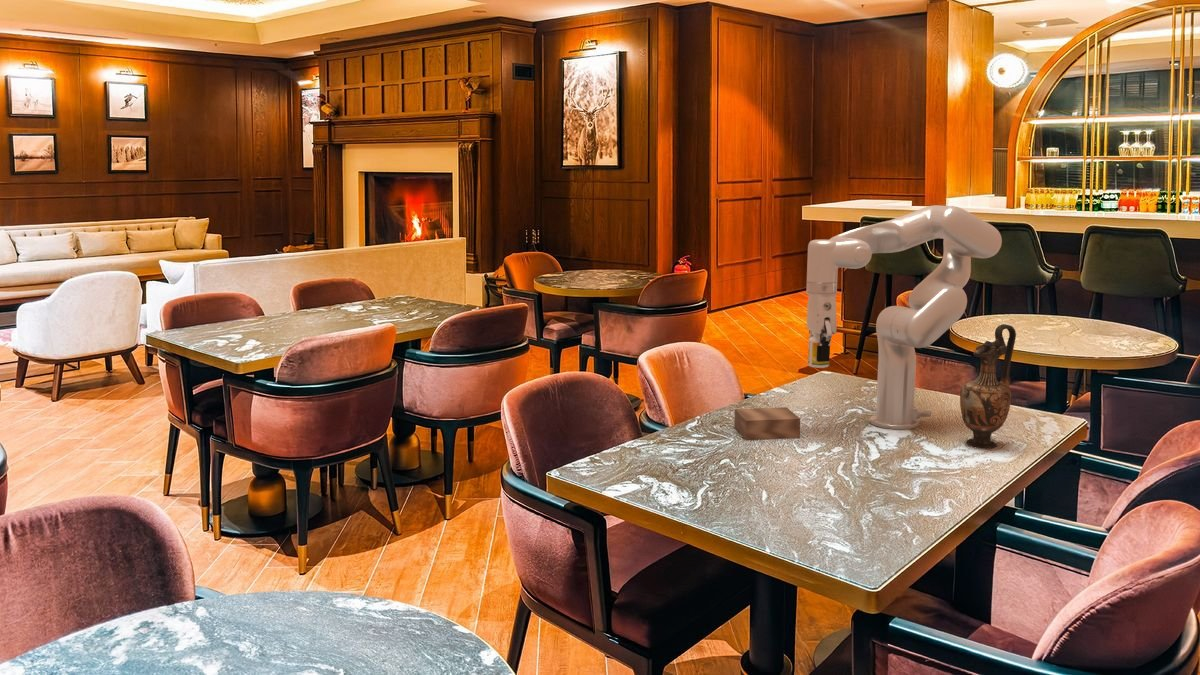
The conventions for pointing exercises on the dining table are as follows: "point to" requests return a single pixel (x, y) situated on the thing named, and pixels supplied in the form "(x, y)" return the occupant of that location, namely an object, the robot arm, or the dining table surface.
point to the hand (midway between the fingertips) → (818, 358)
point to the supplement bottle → (815, 352)
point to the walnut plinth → (767, 423)
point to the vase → (988, 391)
